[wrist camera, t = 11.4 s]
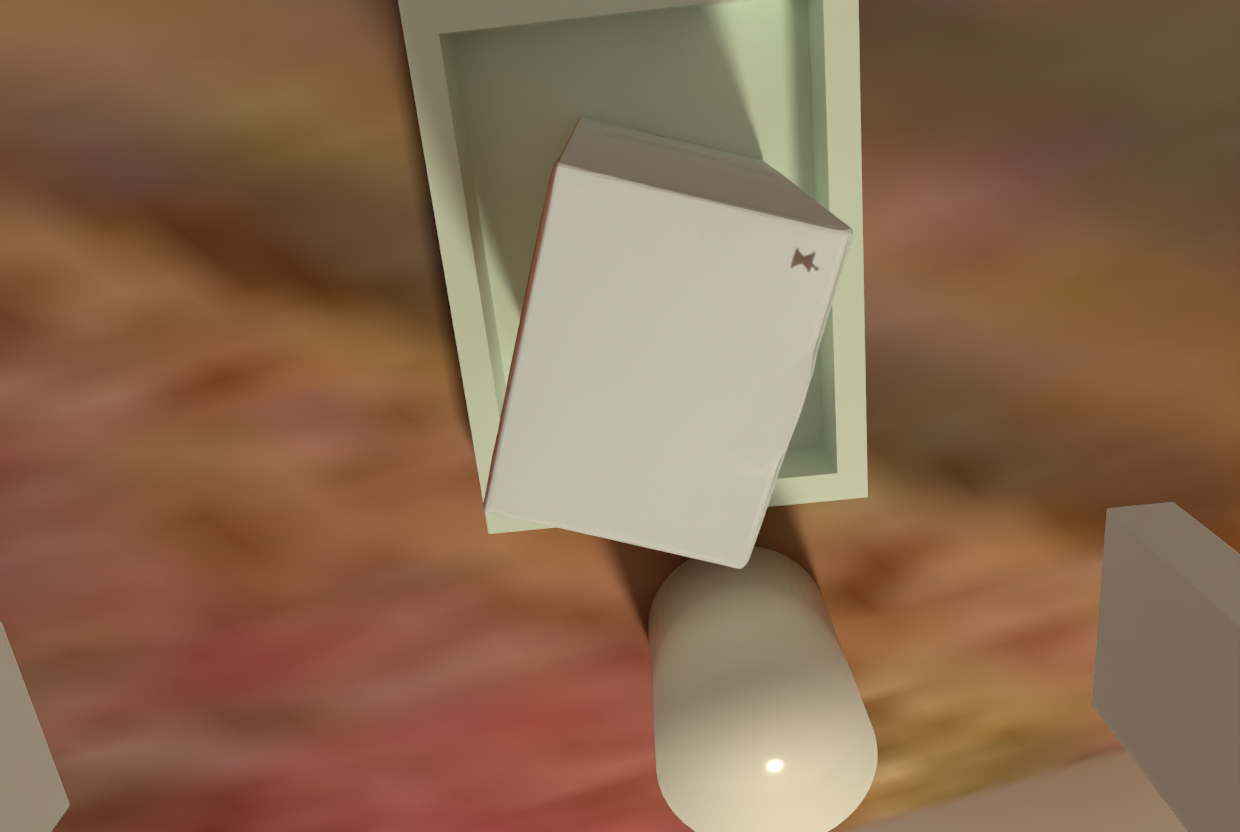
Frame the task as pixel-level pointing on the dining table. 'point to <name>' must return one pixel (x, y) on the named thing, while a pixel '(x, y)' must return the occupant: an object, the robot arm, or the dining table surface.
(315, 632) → the dining table surface
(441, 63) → the tray
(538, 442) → the small box
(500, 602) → the dining table surface
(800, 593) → the cream capsule cylinder
